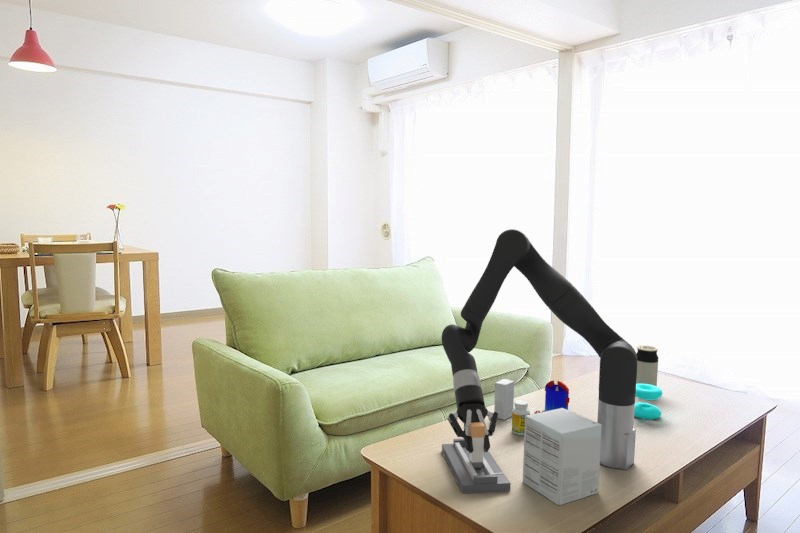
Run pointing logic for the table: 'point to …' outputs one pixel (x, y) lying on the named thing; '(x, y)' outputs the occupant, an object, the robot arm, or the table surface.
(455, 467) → the grey rail track base
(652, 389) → the donuts
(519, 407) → the supplement bottle
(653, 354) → the travel mug
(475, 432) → the fader
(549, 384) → the fantasy tower
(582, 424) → the supplement box
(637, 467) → the table surface
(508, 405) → the skincare box
